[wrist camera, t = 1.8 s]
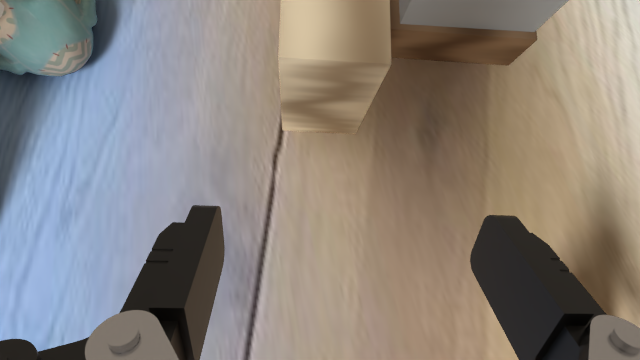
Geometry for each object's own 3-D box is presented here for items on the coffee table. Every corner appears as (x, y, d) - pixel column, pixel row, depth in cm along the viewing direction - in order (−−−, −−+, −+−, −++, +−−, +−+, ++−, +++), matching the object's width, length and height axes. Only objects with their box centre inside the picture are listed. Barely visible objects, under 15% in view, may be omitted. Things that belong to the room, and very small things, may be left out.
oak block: (282, 130, 27) (278, 57, 17) (285, 57, 28) (283, -49, 19) (355, 133, 28) (391, 64, 18) (355, 62, 29) (388, -40, 19)
